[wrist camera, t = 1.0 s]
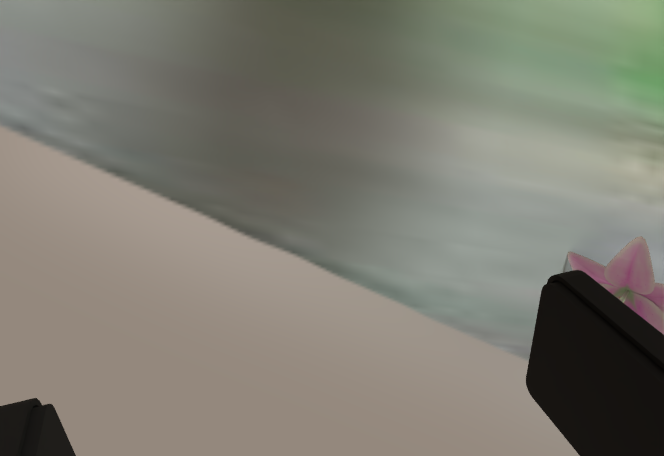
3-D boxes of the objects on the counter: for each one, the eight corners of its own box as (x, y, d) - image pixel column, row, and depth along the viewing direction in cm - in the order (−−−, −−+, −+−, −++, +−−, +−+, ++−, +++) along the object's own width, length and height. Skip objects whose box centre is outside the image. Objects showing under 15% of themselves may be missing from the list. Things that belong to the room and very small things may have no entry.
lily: (608, 190, 50) (633, 249, 42) (707, 254, 51) (748, 323, 43) (521, 271, 57) (528, 335, 49) (610, 326, 58) (631, 396, 50)
